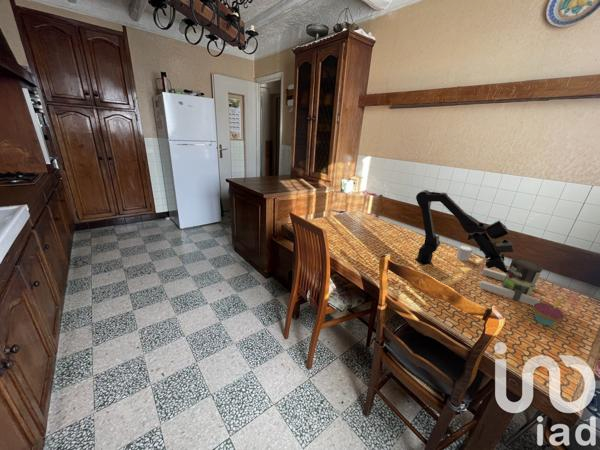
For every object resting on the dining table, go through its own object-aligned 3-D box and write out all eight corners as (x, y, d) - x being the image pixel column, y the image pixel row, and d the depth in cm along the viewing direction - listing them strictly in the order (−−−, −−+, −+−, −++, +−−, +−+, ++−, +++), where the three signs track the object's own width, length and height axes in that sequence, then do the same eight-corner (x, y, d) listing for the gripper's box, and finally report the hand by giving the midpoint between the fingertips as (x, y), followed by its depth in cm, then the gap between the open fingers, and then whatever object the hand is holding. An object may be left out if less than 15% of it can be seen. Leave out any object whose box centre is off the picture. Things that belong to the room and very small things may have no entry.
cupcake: (550, 317, 95) (563, 291, 91) (564, 333, 87) (579, 305, 83) (524, 311, 98) (535, 286, 93) (535, 326, 90) (548, 299, 86)
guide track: (479, 288, 112) (481, 280, 110) (482, 272, 125) (484, 265, 123) (537, 307, 100) (541, 299, 99) (534, 288, 113) (537, 281, 112)
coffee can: (513, 298, 106) (525, 270, 101) (495, 284, 115) (505, 257, 110) (536, 298, 106) (550, 270, 101) (517, 284, 116) (528, 258, 110)
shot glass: (471, 262, 134) (475, 251, 132) (458, 261, 136) (461, 249, 133) (466, 256, 141) (469, 246, 138) (453, 255, 142) (456, 244, 139)
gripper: (504, 242, 101) (529, 274, 99) (504, 229, 115) (526, 258, 112) (475, 252, 109) (498, 283, 106) (479, 240, 122) (499, 267, 120)
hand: (506, 272), depth 111 cm, fingers closed
